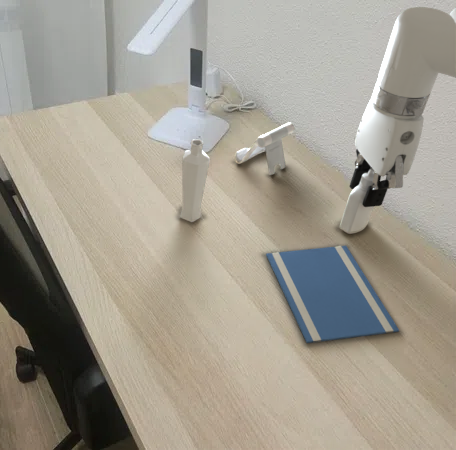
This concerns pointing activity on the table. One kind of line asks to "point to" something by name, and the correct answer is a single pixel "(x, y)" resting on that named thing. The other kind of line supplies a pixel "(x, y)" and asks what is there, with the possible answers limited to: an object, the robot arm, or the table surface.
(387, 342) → the table surface
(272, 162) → the tablet stand
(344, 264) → the towel
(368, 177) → the eye dropper bottle
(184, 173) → the perfume bottle
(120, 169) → the table surface
